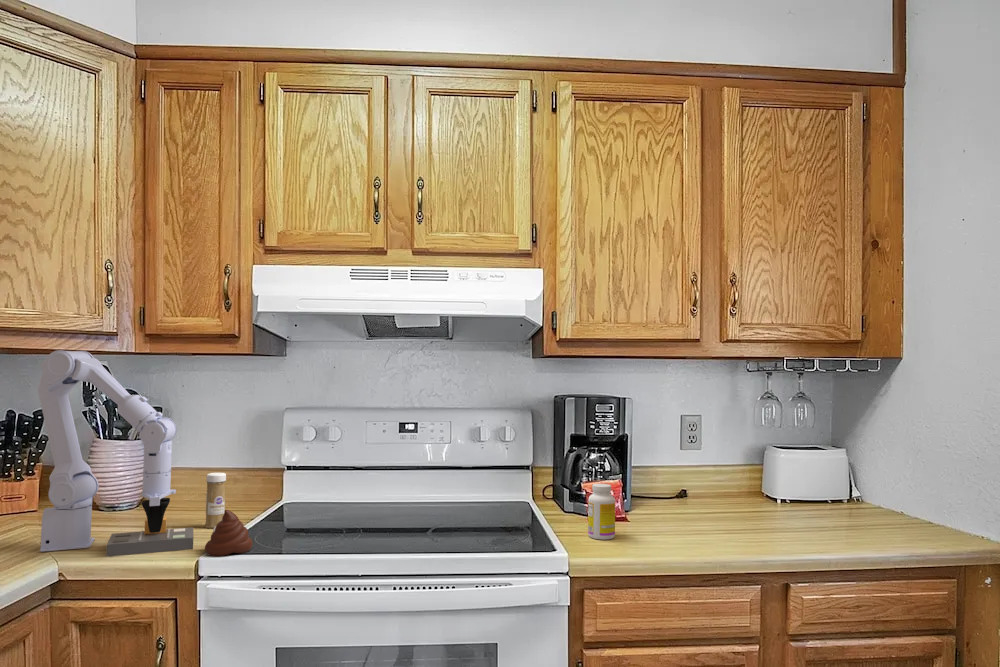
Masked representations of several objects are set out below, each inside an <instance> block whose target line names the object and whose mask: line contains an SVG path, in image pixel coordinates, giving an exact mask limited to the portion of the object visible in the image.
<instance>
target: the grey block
mask: <svg viewBox="0 0 1000 667" xmlns="http://www.w3.org/2000/svg"><path fill="white" fill-rule="evenodd" d="M144 532H145V530H140V531H128V532H127V531H126V532H118V533H117V532H116V533H114V532H113V533H111V535H110V537H109V538H108V541H107V543H106V555H105V556H106V557H115V556H127V555H129V556H130V555H139V554H149V553H163V552H172V551H182V550H183V551H185V550H193V549H194V527H181V528H168V529H167V528H166V533H153V534H144Z"/></svg>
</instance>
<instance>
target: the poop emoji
mask: <svg viewBox="0 0 1000 667" xmlns="http://www.w3.org/2000/svg"><path fill="white" fill-rule="evenodd" d="M212 529H213V530H212V533H211V535H210V539H209V540H208V541H207V542H206V544H205V546H204V552H205V553H206V554H207V555H208V556H212V557H224V556H228V555H230V554H245V553H247V552H249V551H250V550H252V548H253V544H254V543H253V540H252V538H251V537H250V536H249V529H248V528H247V527H245V526H244V523H243V522H242V521H240V519H239V516H237V514H235V513H234V512H233V511H231V510H229V509H224V515H223V518H222V521H220V522H219V523H218V524H217V525H216V526H215V527H214V528H212Z"/></svg>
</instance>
